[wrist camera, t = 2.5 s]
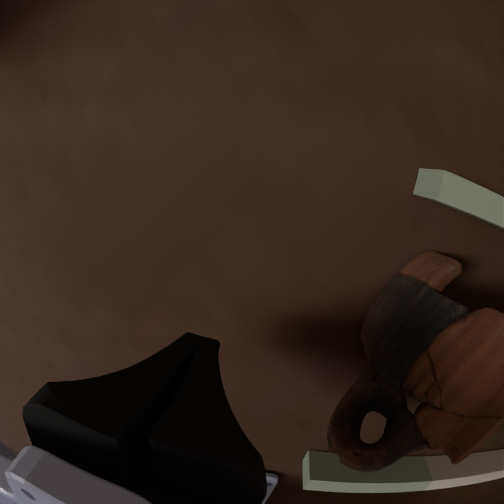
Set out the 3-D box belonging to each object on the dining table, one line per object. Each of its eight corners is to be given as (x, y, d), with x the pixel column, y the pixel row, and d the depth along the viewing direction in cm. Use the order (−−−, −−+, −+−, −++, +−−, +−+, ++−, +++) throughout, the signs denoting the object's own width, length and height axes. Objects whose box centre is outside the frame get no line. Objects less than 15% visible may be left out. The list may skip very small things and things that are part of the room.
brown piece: (462, 199, 13) (594, 287, 7) (459, 306, 19) (537, 379, 12) (259, 355, 13) (363, 531, 6) (321, 417, 18) (386, 516, 12)
